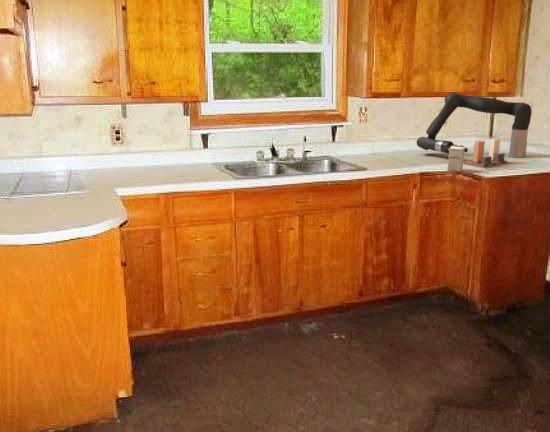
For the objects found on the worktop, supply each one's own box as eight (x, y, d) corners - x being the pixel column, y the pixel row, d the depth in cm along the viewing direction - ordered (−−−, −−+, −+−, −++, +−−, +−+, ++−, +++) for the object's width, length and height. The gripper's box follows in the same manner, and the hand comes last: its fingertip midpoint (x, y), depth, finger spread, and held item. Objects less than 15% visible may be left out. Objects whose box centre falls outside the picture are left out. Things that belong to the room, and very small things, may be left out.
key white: (493, 158, 320) (495, 138, 317) (498, 159, 318) (500, 139, 315) (488, 159, 318) (490, 139, 315) (492, 160, 315) (494, 139, 312)
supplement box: (447, 170, 297) (448, 147, 293) (449, 168, 303) (451, 146, 300) (460, 171, 294) (462, 148, 290) (463, 169, 300) (465, 146, 296)
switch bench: (488, 160, 326) (489, 151, 324) (507, 163, 315) (508, 154, 313) (463, 163, 315) (464, 154, 313) (483, 167, 304) (483, 157, 302)
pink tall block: (478, 161, 313) (480, 140, 310) (482, 161, 311) (484, 141, 308) (472, 161, 311) (474, 141, 308) (477, 162, 308) (479, 142, 305)
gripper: (437, 141, 326) (459, 145, 312) (452, 139, 333) (475, 143, 318) (436, 153, 328) (458, 157, 314) (451, 151, 335) (473, 155, 321)
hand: (466, 150), depth 316 cm, fingers closed
